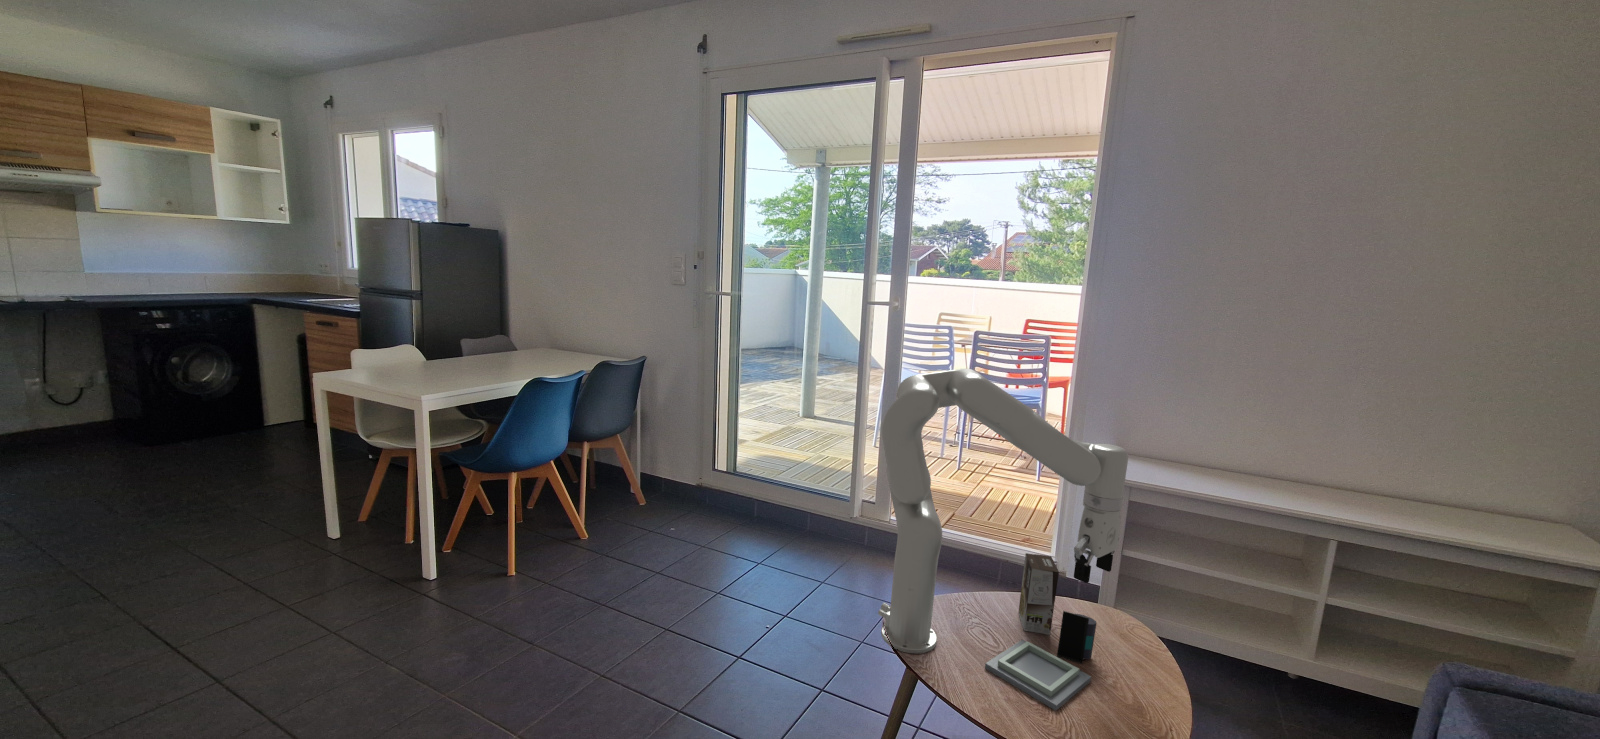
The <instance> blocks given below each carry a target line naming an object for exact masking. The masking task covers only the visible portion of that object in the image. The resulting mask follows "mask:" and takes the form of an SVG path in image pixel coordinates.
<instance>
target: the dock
mask: <svg viewBox="0 0 1600 739" xmlns="http://www.w3.org/2000/svg"><path fill="white" fill-rule="evenodd" d="M984 664H985V665H984V669H985V670H986V671H989V672H990V673H991V674H994V675H995V676H997V677H999V678H1000V679H1002V680H1004V681H1006V682H1007V683H1009V684H1010V685H1012V686H1013V687H1016V688H1017V689H1019V690H1020V691H1022V692H1023V693H1025V694H1027V695H1028V696H1030V697H1032V698H1034V699H1036V700H1037V701H1039V702H1040V703H1042V704H1044V705H1046V706H1047V707H1049V708H1051V709H1052V710H1054V711H1058V710H1059V709H1060V708H1061V707H1063V705H1065V704H1066V703H1067V702H1068V701H1070V700H1071V699H1072V698H1073V697H1074V696H1075V695H1076V694H1078V693H1079V692H1080V691H1082V690H1083V689H1084V688H1085V687H1086V686H1087V685H1089V684H1090V683H1091V681H1092V675H1090V674H1088V673H1086V672H1084V671H1082V670H1080V668H1079V667H1077V666H1075V665H1073V664H1071V663H1069V662H1068V661H1065V659H1064V660H1063V658H1061V657H1058V656H1057V655H1054V654H1052V653H1050V652H1049V651H1047V650H1045V649H1043V648H1041V647H1039V646H1037V645H1035V644H1033V643H1032V642H1030V641H1026V640H1024V639H1021V640H1019V641H1018V642H1016V643H1015V644H1013V645H1011V646H1010V647H1008V648H1007V649H1006V650H1003V651H1002V652H1001V653H999V654H997V655H996V656H994V657H992V658H991V659H989V660H988V661H987V662H985V663H984Z"/></svg>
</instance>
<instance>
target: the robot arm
mask: <svg viewBox="0 0 1600 739" xmlns="http://www.w3.org/2000/svg"><path fill="white" fill-rule="evenodd" d="M955 406H956V407H958V408H959V409H960V410H962V411H963V412H964V413H966V414H967V415H969V416H970V417H972V418H973V419H975V420H976V421H977V422H980V423H981V424H982V425H984V426H986V427H987V428H989V429H990V430H992V431H993V432H994V433H996V434H997V435H998V436H1000V437H1002V439H1005V440H1006V441H1007V442H1009V443H1010V444H1011V445H1013V446H1015V447H1016V448H1018V449H1019V450H1021V451H1023V452H1024V453H1026V454H1027V455H1029V456H1030V457H1031V458H1033V459H1035V460H1036V461H1038V462H1039V463H1040V464H1042V465H1043V466H1044V467H1046V468H1048V469H1049V470H1051V471H1052V472H1053V473H1055V474H1056V475H1058V476H1059V477H1061V478H1063V479H1064V480H1065V481H1067V482H1069V484H1072V485H1076V486H1078V487H1079V486H1080V487H1081V486H1082V487H1083V486H1084V492H1083V500H1082V505H1083V510H1082V515H1081V519H1080V524H1079V528H1078V535H1077V543H1076V545H1074V546H1073V552H1074V554H1073V556H1074V562H1075V564H1074V570H1073V571H1074V572H1073V578H1074V580H1075V579H1076V580H1078V581H1080V582H1082V583H1084V584H1089V583H1090V578H1091V577H1090V576H1091V570H1092V565H1090V564H1091V562H1092V560H1093V558H1094V557H1095V558H1096V562H1095V563H1096V564H1095V567H1096V568H1098V569H1100V570H1104V571H1106V572H1109V573H1110V572H1111V571H1112V567H1113V562H1114V561H1113V560H1114V559H1113V558H1114V555H1115V551H1116V550H1117V549H1118V548H1119V545H1120V537H1121V536H1120V534H1121V522H1122V521H1121V519H1122V515H1121V514H1122V513H1121V511H1122V505H1123V498H1124V491H1125V485H1126V477H1127V476H1126V475H1127V470H1128V463H1129V453H1128V451H1127V450H1126V449H1125V448H1124V447H1121V446H1119V445H1116V444H1111V443H1091V442H1090V443H1089V442H1085V441H1080V440H1076V439H1075V440H1074V439H1071V438H1070V437H1069V436H1067V435H1066V434H1064V433H1062V432H1061V431H1060V430H1059V429H1057V428H1056V427H1054V426H1053V425H1052V424H1050V423H1049V422H1048V421H1047V420H1046V419H1045V418H1044V417H1042V416H1041V415H1040V414H1039V413H1038V412H1036V411H1034V410H1033V408H1031V407H1029V406H1028V405H1026V404H1025V403H1023V402H1022V401H1021V400H1019V399H1017V398H1016V397H1015V396H1013V395H1012V394H1010V393H1009V392H1007V391H1006V390H1004V389H1002V388H1001V387H999V386H998V385H997V384H995V383H993V382H992V381H990V380H989V379H988V378H986V377H984V376H983V375H982V374H980V372H978V371H976V370H975V369H971V368H959V369H958V368H957V369H956V368H955V369H952V370H951V369H950V370H943V371H938V372H937V371H936V372H930V373H929V372H928V373H921V374H914V375H911V376H908V377H906V378H905V379H903V380H902V381H901V382H900V383H899V384H898V388H897V391H896V400H895V401H893V403H892V404H891V405H890V406H889V407H888V410H887V411H886V413H885V415H884V418H883V421H882V425H881V436H882V438H881V439H882V443H883V445H882V446H883V450H884V456H885V457H884V458H885V462H886V468H885V469H886V472H885V473H886V479H887V482H888V488H889V492H890V497H891V502H892V506H893V507H892V508H893V511H894V515H895V522H896V526H897V539H896V540H897V541H896V547H895V554H894V562H893V564H894V565H893V573H892V574H893V575H892V584H891V594H890V596H891V597H890V605H889V604H887V603H885V602H882V604H881V605H880V609H879V610H878V611H877V615H878V616H880V617H882V618H883V619H884V620H885V621H884V623H883V624H882V626H881V630H880V631H881V632H880V634H881V637H882V639H883V641H884V642H885V643H886V644H887V645H888V646H889V647H891V648H893V647H894V648H893V649H895V650H897V649H898V650H897V651H899V652H902V653H907V654H915V655H916V654H917V655H919V654H925V653H928V652H929V651H932V650H933V649H934V648H935V647H936V645H937V642H938V641H937V640H938V638H937V634H936V631H934V630H933V629H932V620H933V611H934V602H935V601H934V600H935V599H934V598H935V592H936V582H937V581H936V580H937V574H938V573H937V572H938V564H939V563H938V562H939V556H940V553H941V552H940V551H941V547H942V544H943V543H942V542H943V529H942V524H941V521H940V518H939V516H938V513H937V511H936V507H935V503H934V500H933V499H934V498H933V495H932V489H931V486H932V485H931V484H932V483H931V482H932V479H931V475H930V474H931V473H930V470H929V467H928V466H927V465H928V464H927V460H926V456H925V455H926V454H925V451H924V444H923V438H922V432H923V428H924V427H925V425H927V423H928V422H929V421H930V420H931V419H932V418H933V417H934V416H935V415H936V414H937V412H938V409H941V408H949V407H955ZM1085 555H1087V557H1086V556H1085ZM884 626H885V629H886V632H887V635H888V637H889V640H890V641H891V644H892V645H893V647H892V646H891V644H890V642H889V640H888V638H887V636H886V633H885V630H884Z"/></svg>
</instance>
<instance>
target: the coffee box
mask: <svg viewBox="0 0 1600 739" xmlns="http://www.w3.org/2000/svg"><path fill="white" fill-rule="evenodd" d="M1024 556H1025V557H1024V564H1023V572H1022V579H1021V581H1022V582H1021V589H1020V598H1019V606H1018V615H1019V618H1020V622H1021V626H1022V629H1023V631H1024V632H1030V633H1036V634H1043V635H1047V636H1048V635H1049V636H1050V635H1051V631H1052V625H1053V624H1052V623H1053V616H1054V609H1055V604H1056V595H1057V589H1058V583H1059V582H1058V580H1059V574H1060V571H1059V569H1058V567H1057V565H1056V563H1055V561H1054V559H1053V557H1052V556H1051V555H1045V554H1044V555H1043V554H1033V553H1025V555H1024Z"/></svg>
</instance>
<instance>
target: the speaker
mask: <svg viewBox="0 0 1600 739" xmlns="http://www.w3.org/2000/svg"><path fill="white" fill-rule="evenodd" d="M1096 629H1097V621H1096V620H1095V619H1093V618H1092V617H1089V616H1086V615H1085V614H1084V615H1083V614H1080V613H1073V612H1068V611H1066V610H1063V611H1062V617H1061V625H1060V630H1059V631H1060V632H1059V639H1058V646H1057V653H1056V657H1058V658H1060V659H1064V660H1068V661H1071V662H1073V663H1078V664H1080V665H1083V664H1084V660H1089V659H1091V658H1092V654H1093V648H1094V642H1095V635H1096Z"/></svg>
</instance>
